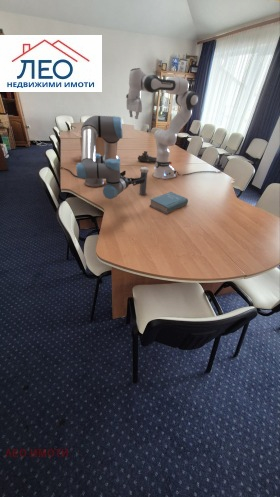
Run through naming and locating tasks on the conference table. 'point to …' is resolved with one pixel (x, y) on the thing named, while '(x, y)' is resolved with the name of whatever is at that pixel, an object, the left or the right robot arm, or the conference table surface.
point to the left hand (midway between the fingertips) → (134, 174)
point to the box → (99, 144)
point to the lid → (144, 169)
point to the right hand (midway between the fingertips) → (133, 118)
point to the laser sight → (146, 158)
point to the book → (168, 202)
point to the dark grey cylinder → (143, 185)
